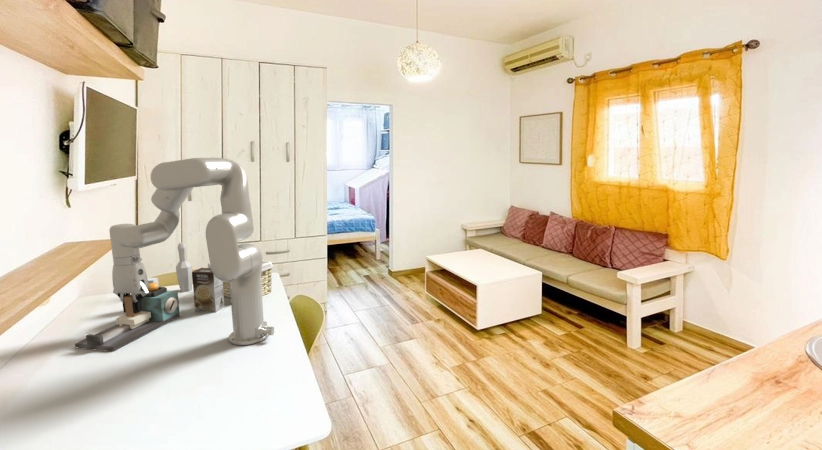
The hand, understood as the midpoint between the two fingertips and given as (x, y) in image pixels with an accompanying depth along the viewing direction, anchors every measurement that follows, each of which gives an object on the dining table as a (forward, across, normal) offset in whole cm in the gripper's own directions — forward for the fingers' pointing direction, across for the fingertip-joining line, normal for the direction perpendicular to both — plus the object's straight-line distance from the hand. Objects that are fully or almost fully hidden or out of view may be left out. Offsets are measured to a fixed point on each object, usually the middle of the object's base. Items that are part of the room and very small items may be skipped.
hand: (133, 311), depth 138 cm
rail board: (+7, 0, +1) cm, 7 cm away
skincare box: (+7, +11, -19) cm, 23 cm away
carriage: (+5, 0, 0) cm, 5 cm away
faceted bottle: (+7, +13, -41) cm, 43 cm away
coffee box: (+7, -13, -22) cm, 26 cm away
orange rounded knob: (-5, 0, -9) cm, 10 cm away
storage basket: (+7, -15, -41) cm, 44 cm away
